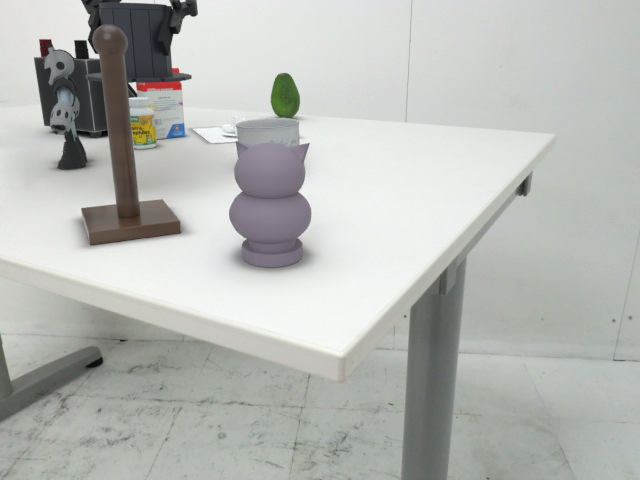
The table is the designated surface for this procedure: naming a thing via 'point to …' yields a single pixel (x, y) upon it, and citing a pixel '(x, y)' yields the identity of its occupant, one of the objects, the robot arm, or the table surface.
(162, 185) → the table surface
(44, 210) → the table surface
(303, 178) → the cat figurine
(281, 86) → the fruit
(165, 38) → the robot arm
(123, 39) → the stand
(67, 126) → the robot
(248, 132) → the teacup
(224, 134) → the teacup and saucer
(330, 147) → the table surface
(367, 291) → the table surface
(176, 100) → the ink box
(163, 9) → the hat
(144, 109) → the supplement bottle
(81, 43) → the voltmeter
